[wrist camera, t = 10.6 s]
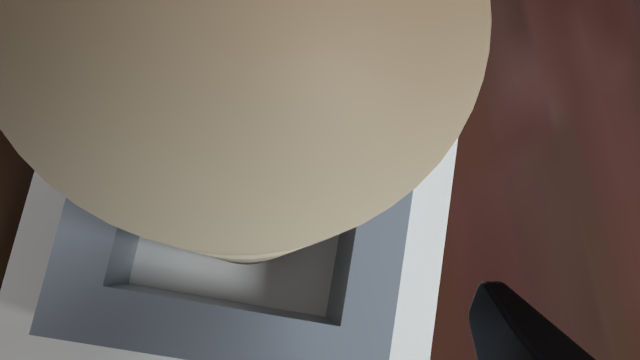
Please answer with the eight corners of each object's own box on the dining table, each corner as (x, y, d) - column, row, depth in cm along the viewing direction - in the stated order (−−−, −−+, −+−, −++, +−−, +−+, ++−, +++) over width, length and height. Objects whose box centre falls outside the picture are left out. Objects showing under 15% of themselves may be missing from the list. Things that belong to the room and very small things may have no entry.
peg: (322, 241, 18) (565, 155, 4) (208, 281, 17) (42, 337, 3) (284, 133, 18) (392, -269, 5) (172, 167, 18) (-101, -190, 4)
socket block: (409, 442, 18) (452, 490, 14) (-11, 379, 17) (-91, 413, 13) (457, 67, 21) (506, 20, 17) (99, -13, 19) (60, -84, 15)
